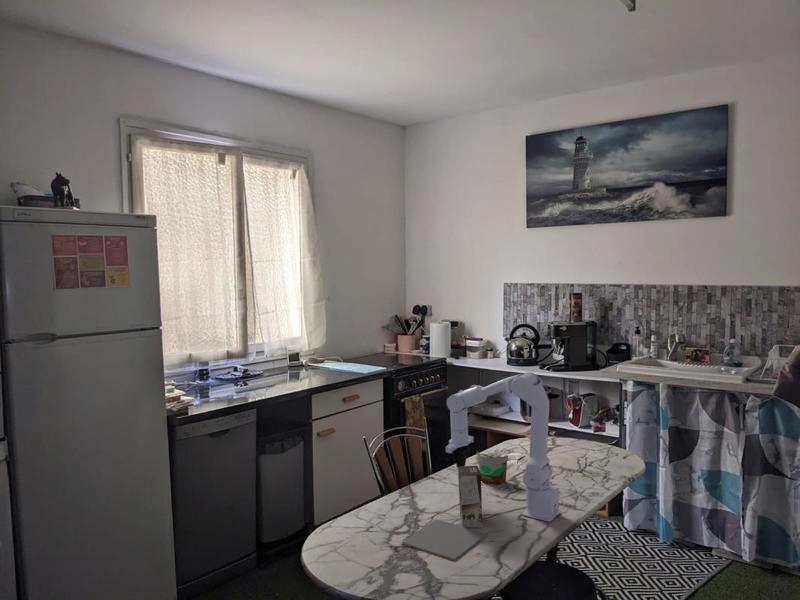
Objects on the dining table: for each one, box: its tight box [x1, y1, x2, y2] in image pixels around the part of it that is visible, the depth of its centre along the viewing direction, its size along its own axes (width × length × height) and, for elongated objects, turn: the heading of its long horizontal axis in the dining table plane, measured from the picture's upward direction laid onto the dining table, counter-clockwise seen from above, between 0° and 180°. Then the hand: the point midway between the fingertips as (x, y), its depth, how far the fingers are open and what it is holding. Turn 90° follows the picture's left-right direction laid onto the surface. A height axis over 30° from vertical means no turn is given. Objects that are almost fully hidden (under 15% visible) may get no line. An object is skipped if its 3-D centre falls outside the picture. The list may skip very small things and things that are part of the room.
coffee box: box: [457, 465, 483, 529], centre depth 182 cm, size 9×6×16 cm
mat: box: [400, 519, 489, 562], centre depth 171 cm, size 18×18×1 cm
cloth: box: [501, 451, 525, 470], centre depth 237 cm, size 26×14×2 cm, turn 135°
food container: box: [475, 451, 509, 486], centre depth 214 cm, size 12×6×10 cm, turn 62°
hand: (460, 468), depth 200 cm, fingers closed
